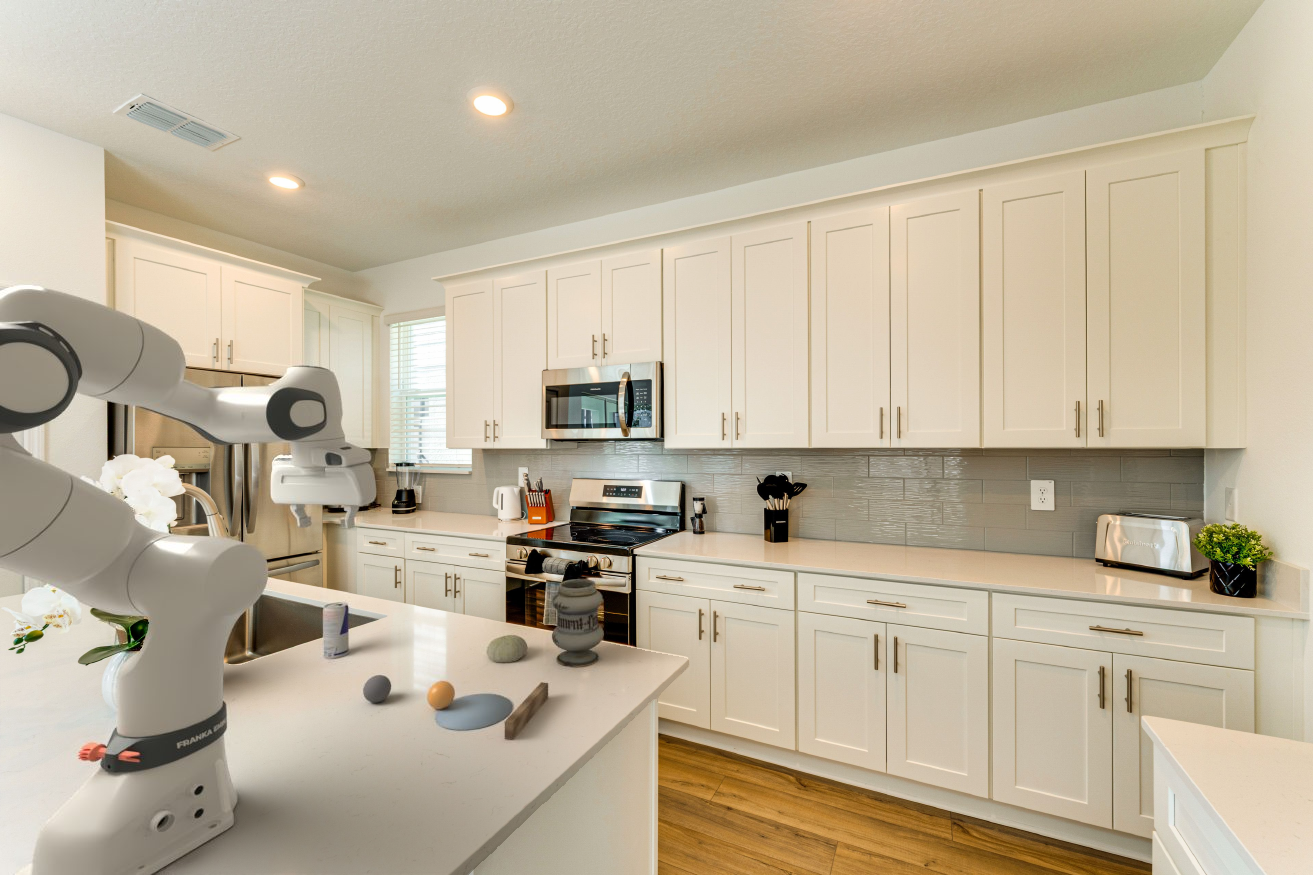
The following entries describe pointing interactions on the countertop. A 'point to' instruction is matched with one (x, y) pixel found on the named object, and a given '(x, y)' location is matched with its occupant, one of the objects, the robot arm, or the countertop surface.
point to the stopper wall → (526, 711)
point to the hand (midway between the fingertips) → (326, 527)
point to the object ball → (441, 695)
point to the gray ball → (377, 688)
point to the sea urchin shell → (506, 648)
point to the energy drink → (335, 630)
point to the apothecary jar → (577, 622)
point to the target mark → (474, 712)
